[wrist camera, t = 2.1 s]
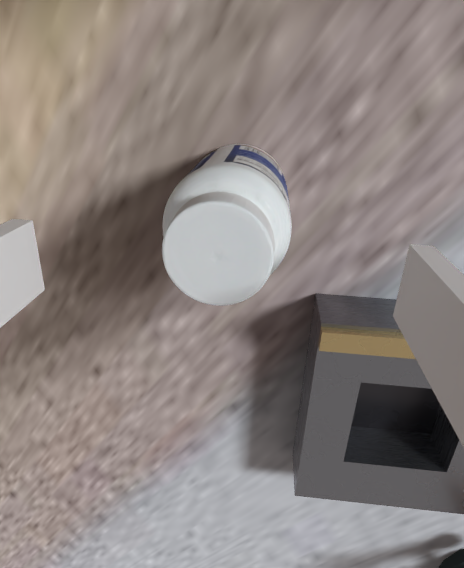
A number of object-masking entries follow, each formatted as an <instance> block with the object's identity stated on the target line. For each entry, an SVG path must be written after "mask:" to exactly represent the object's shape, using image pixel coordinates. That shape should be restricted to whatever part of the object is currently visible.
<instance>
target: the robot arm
mask: <svg viewBox="0 0 464 568" xmlns="http://www.w3.org/2000/svg"><path fill="white" fill-rule="evenodd" d="M44 290H45V287H44V282H43V276H42V270H41V265H40V259H39V254H38V248H37V242H36V237H35V231H34V226H33V220H20V219H11V220H9V221H7V222H5V223H3V224H0V328H1V327H2V326H3V325H4V324H5V323H7V322H8V321H9V320H10V319H11V318H12V317H14V316H15V315H16V314H17V313H18V312H19V311H21V310H22V309H23V308H24V307H25V306H26V305H28V304H29V303H30V302H31V301H32V300H34V299H35V298H36V297H37V296H38V295H39V294H41V293H42V292H43V291H44ZM393 317H394V319H395V321H396V323H397V325H398V327H399V329H400V330H401V332H402V334H403V336H404V338H405V340H406V342H407V343H408V345H409V347H410V349H411V351H412V353H413V355H414V356H415V358H416V360H417V362H418V364H419V366H420V368H421V369H422V371H423V373H424V375H425V377H426V379H427V381H428V382H429V384H430V386H431V388H432V390H433V392H434V394H435V395H436V397H437V399H438V401H439V403H440V405H441V407H442V408H443V410H444V412H445V414H446V416H447V418H448V420H449V421H450V423H451V425H452V427H453V429H454V431H455V433H456V434H457V436H458V438H459V440H460V442H461V444H462V446H463V447H464V275H463V274H462V273H461V272H460V271H459V270H458V269H457V268H456V267H455V266H454V265H453V264H452V263H451V262H450V261H449V260H448V259H447V258H445V257H444V256H443V255H442V254H441V253H440V252H439V251H438V250H437V249H436V248H435V247H434V246H426V245H411V244H410V245H409V250H408V254H407V258H406V262H405V267H404V271H403V275H402V279H401V284H400V288H399V292H398V296H397V301H396V305H395V309H394V313H393Z"/></svg>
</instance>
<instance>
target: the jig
mask: <svg viewBox="0 0 464 568" xmlns="http://www.w3.org/2000/svg"><path fill="white" fill-rule="evenodd" d="M396 301H397V300H393V299H380V298H366V297H353V296H340V295H326V294H316V295H315V302H314V309H313V316H312V323H311V330H310V337H309V344H308V352H307V359H306V366H305V373H304V380H303V387H302V394H301V401H300V408H299V415H298V422H297V429H296V436H295V443H294V450H293V468H294V489H295V496H304V497H313V498H322V499H331V500H340V501H349V502H358V503H367V504H376V505H386V506H395V507H404V508H413V509H422V510H431V511H440V512H449V513H458V514H464V447H463V446H462V444H461V442H460V440H459V438H458V436H457V434H456V433H455V431H454V429H453V427H452V425H451V423H450V421H449V420H448V418H447V416H446V414H445V412H444V410H443V408H442V407H441V405H440V403H439V401H438V399H437V397H436V395H435V394H434V392H433V390H432V388H431V386H430V384H429V382H428V381H427V379H426V377H425V375H424V373H423V371H422V369H421V368H420V366H419V364H418V362H417V360H416V358H415V356H414V355H413V353H412V351H411V349H410V347H409V345H408V343H407V342H406V340H405V338H404V336H403V334H402V332H401V330H400V329H399V327H398V325H397V323H396V321H395V319H394V317H393V313H394V309H395V305H396Z"/></svg>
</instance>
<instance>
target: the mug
mask: <svg viewBox="0 0 464 568" xmlns="http://www.w3.org/2000/svg"><path fill="white" fill-rule="evenodd" d="M439 568H464V549H461V550H459V551H457V552H456V553H454V554H453V555H451V556H449V557H448V558H446V559H445V560H444V561H443V562H442V564H441V565H440V567H439Z"/></svg>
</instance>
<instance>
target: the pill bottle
mask: <svg viewBox="0 0 464 568" xmlns="http://www.w3.org/2000/svg"><path fill="white" fill-rule="evenodd" d="M291 228H292V224H291V214H290V206H289V199H288V192H287V185H286V181H285V178H284V175H283V172H282V170H281V168H280V167H279V165H278V164H277V162H276V161H275V160H274V159H273V158H272V157H271V156H270V155H269V154H267V153H266V152H264V151H263V150H261V149H259V148H257V147H254V146H251V145H246V144H232V145H227V146H223V147H221V148H218V149H216V150H214V151H213V152H211V153H210V154H208V155H207V156H206V157H204V158H203V159H202V160H201V161H200V162H199V163H198V164H197V165H196V167H195V168H194V169H193V170H192V171H190V172H189V174H188V175H186V176H185V177H184V178H183V179H182V180H181V181H180V182H179V184H178V185H177V186H176V187H175V189H174V190H173V192H172V194H171V195H170V197H169V199H168V201H167V204H166V207H165V210H164V214H163V237H164V239H163V243H162V256H163V262H164V266H165V269H166V271H167V273H168V275H169V277H170V279H171V280H172V281H173V283H174V284H175V285H176V286H177V287H178V288H179V289H180V290H181V291H182V292H183V293H184V294H186V295H187V296H189V297H191V298H192V299H194V300H196V301H199V302H201V303H205V304H209V305H218V306H225V305H232V304H236V303H239V302H242V301H244V300H246V299H248V298H250V297H251V296H253V295H254V294H255V293H257V292H258V291H259V290H260V289H261V288H262V286H263V285H264V284H265V282H266V281H267V279H268V277H269V275H271V274H272V273H273V272H274V271H275V270H276V268H277V267H278V266H279V265H280V263H281V262H282V260H283V258H284V256H285V255H286V252H287V250H288V247H289V243H290V238H291Z"/></svg>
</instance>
